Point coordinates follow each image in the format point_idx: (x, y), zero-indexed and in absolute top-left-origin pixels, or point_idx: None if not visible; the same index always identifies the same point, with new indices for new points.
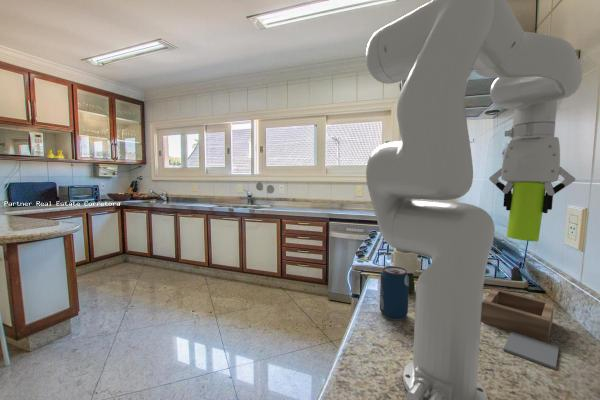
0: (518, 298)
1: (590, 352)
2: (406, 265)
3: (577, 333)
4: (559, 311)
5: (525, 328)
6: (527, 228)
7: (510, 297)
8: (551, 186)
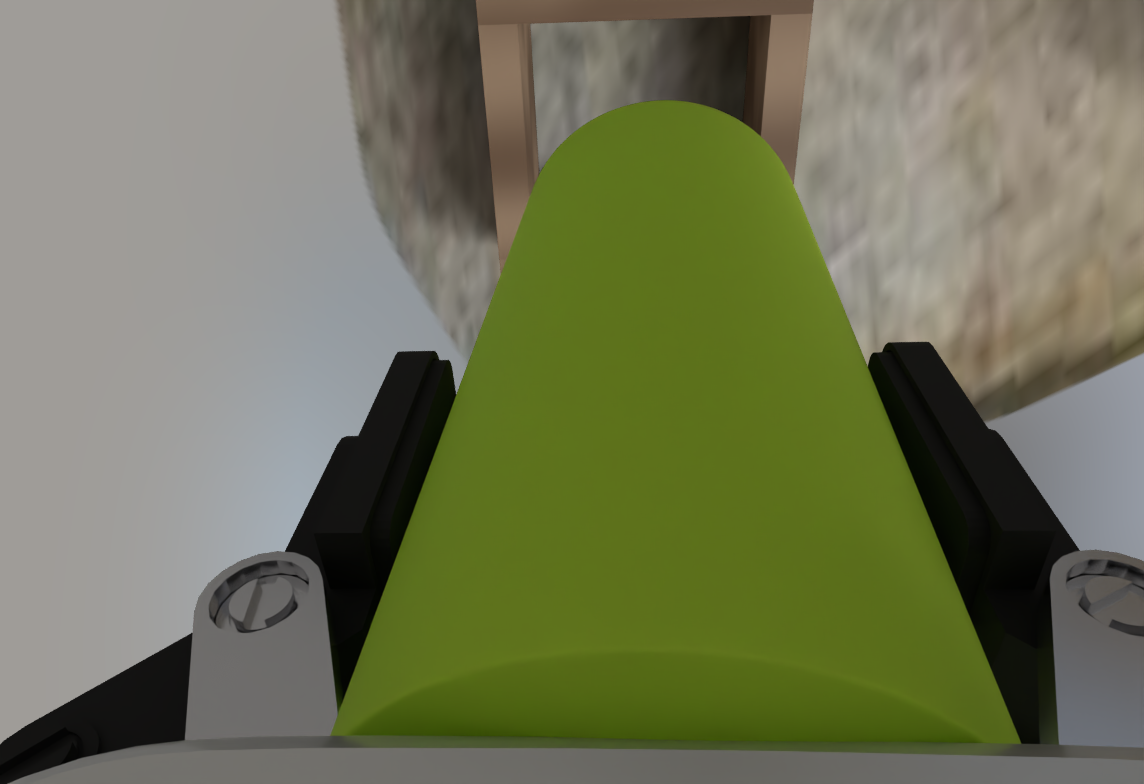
0: None
1: (352, 29)
2: None
3: (421, 205)
4: None
5: None
6: (604, 157)
7: None
8: (195, 720)
